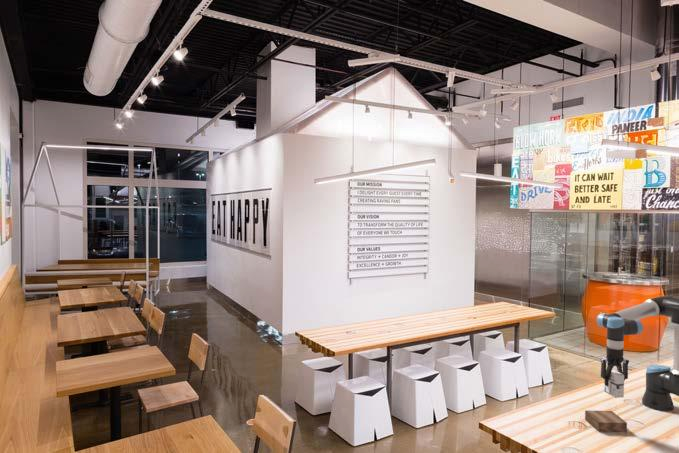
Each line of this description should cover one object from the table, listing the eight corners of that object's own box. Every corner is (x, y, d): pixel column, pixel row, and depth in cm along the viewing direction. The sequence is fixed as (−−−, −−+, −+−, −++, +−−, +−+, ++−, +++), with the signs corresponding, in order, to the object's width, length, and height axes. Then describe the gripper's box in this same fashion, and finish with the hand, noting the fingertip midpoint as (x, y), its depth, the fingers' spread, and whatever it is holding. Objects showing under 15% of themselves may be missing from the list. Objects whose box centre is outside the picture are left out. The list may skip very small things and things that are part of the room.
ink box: (603, 391, 242) (604, 369, 242) (612, 391, 243) (613, 369, 242) (615, 398, 234) (615, 375, 233) (624, 397, 234) (624, 374, 234)
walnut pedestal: (611, 420, 248) (611, 410, 248) (626, 432, 234) (627, 422, 234) (585, 419, 249) (585, 410, 248) (598, 432, 235) (598, 422, 234)
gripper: (628, 345, 241) (627, 389, 242) (593, 345, 241) (592, 389, 242) (637, 349, 234) (636, 395, 235) (601, 349, 234) (600, 394, 235)
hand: (613, 391), depth 238 cm, fingers closed on ink box, 5 cm apart
